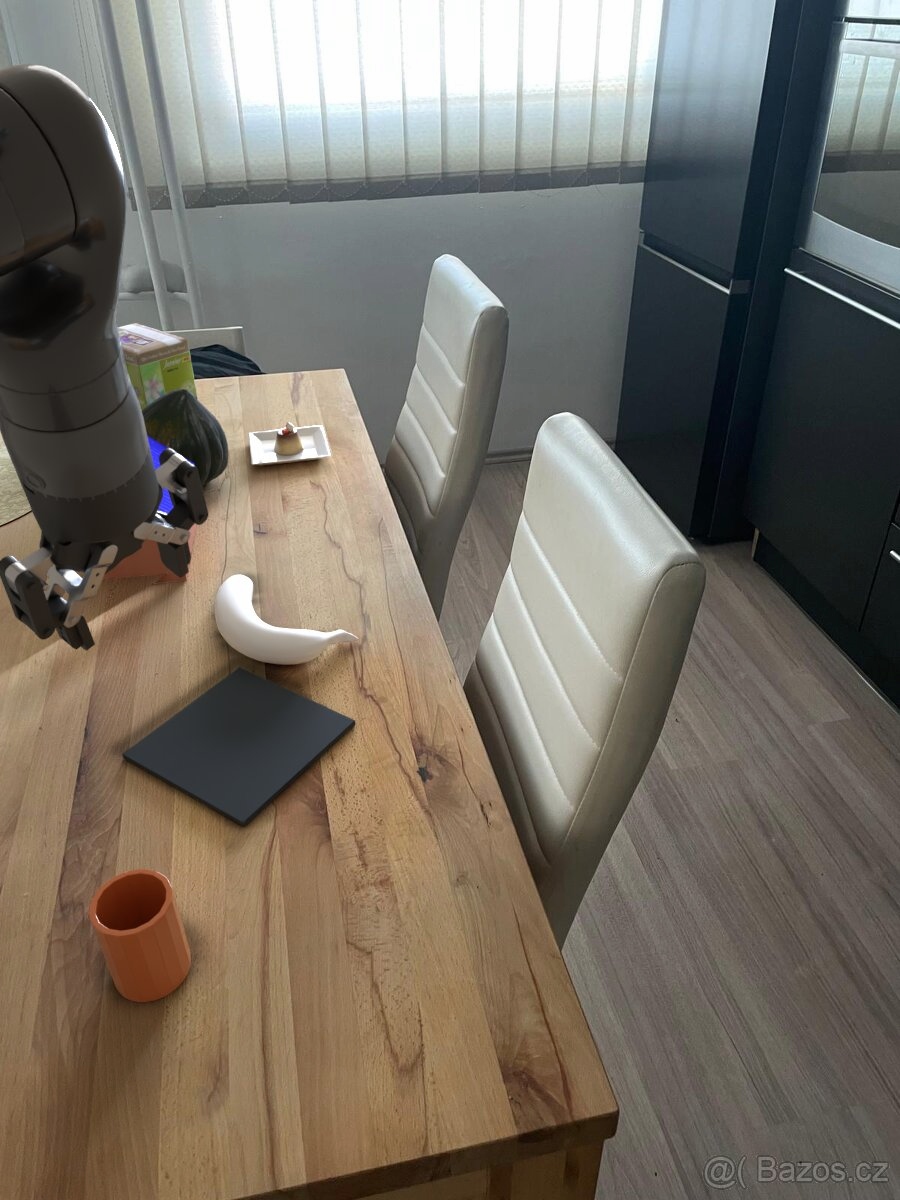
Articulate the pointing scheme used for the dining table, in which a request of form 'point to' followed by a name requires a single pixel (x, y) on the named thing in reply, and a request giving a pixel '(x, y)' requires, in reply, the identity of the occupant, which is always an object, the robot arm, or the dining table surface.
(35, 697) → the dining table surface
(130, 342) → the tea box
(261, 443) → the dessert
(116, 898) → the cup
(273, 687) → the mat
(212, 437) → the squash
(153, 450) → the house
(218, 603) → the banana
